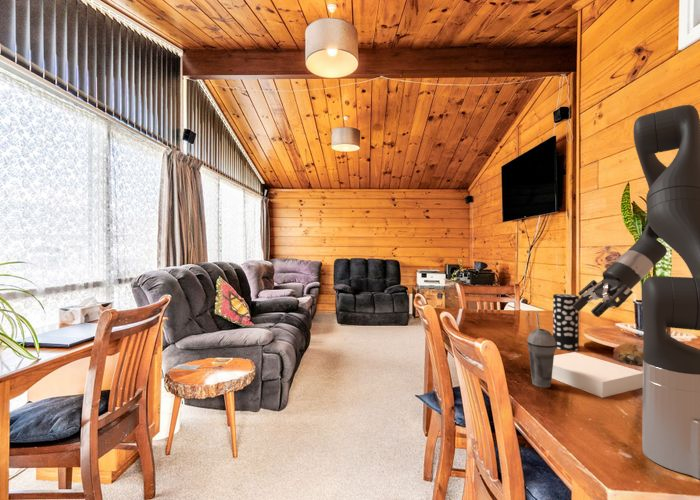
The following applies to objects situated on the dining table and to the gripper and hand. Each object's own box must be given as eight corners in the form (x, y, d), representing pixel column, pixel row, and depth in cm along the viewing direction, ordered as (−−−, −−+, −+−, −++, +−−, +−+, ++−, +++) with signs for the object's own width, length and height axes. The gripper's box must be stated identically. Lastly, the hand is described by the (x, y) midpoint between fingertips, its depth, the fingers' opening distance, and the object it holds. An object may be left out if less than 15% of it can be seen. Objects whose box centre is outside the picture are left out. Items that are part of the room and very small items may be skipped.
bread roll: (654, 375, 114) (660, 352, 115) (636, 366, 110) (643, 342, 112) (621, 366, 123) (627, 344, 124) (604, 356, 120) (610, 334, 121)
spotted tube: (548, 346, 135) (548, 294, 134) (562, 343, 138) (562, 293, 138) (569, 352, 127) (569, 297, 127) (583, 349, 131) (583, 296, 130)
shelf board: (645, 386, 96) (645, 372, 95) (602, 397, 89) (602, 382, 89) (574, 364, 114) (574, 352, 114) (534, 371, 107) (534, 358, 107)
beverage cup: (560, 390, 93) (561, 316, 93) (531, 388, 94) (531, 315, 94) (550, 380, 100) (551, 311, 100) (523, 378, 102) (523, 310, 101)
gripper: (600, 260, 103) (560, 298, 104) (637, 262, 89) (590, 306, 90) (618, 277, 103) (578, 316, 104) (658, 282, 89) (612, 327, 89)
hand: (584, 311), depth 97 cm, fingers open, 8 cm apart
